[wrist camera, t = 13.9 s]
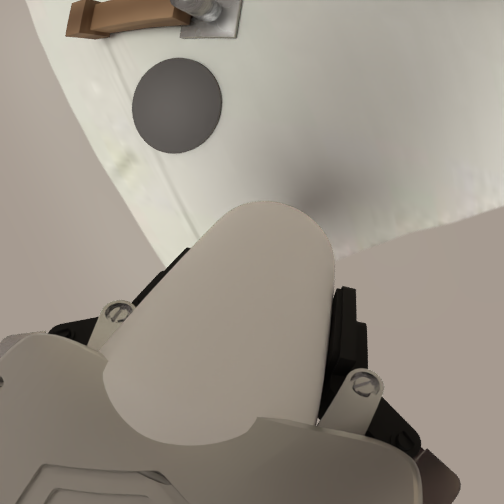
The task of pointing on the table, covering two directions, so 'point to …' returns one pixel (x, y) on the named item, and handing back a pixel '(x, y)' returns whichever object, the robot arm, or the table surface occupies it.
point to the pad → (176, 105)
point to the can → (228, 332)
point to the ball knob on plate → (210, 18)
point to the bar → (121, 17)
